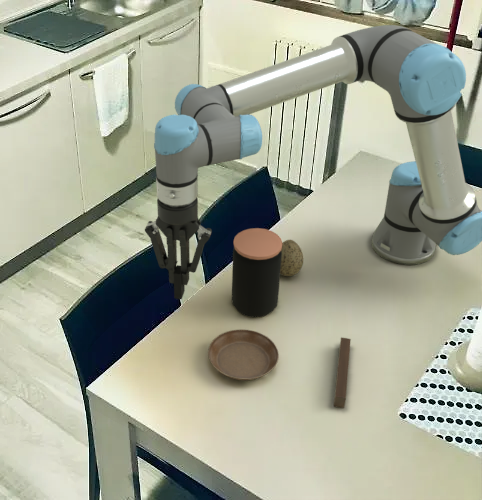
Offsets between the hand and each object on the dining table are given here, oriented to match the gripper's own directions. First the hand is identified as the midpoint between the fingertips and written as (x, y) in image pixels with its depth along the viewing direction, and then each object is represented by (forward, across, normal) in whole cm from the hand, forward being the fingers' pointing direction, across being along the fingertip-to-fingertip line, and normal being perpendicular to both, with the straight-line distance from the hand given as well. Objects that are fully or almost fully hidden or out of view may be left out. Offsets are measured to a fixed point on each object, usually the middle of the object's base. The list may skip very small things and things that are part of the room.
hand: (179, 294), depth 147 cm
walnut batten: (+16, +34, 0) cm, 38 cm away
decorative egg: (+16, +19, +32) cm, 41 cm away
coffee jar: (+16, +13, +19) cm, 28 cm away
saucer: (+17, +14, 0) cm, 21 cm away
